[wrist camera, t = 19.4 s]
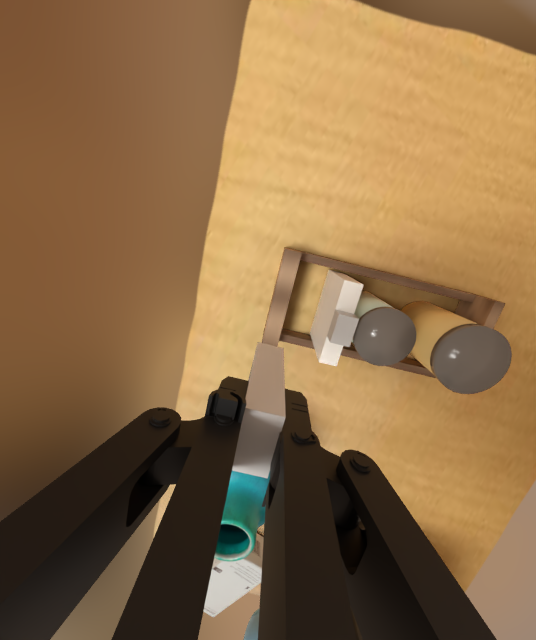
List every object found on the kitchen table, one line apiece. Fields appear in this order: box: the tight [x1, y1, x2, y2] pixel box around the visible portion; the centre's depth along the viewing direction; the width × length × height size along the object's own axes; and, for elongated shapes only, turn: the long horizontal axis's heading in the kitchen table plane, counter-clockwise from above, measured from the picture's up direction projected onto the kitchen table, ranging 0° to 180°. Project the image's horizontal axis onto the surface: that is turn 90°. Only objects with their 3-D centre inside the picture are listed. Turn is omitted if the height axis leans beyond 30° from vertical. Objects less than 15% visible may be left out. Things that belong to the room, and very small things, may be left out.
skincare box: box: [203, 533, 264, 617], centre depth 51 cm, size 8×6×15 cm
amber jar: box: [400, 301, 512, 394], centre depth 35 cm, size 7×7×12 cm
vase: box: [214, 471, 270, 562], centre depth 37 cm, size 11×11×19 cm
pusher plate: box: [310, 270, 364, 366], centre depth 34 cm, size 9×2×12 cm, turn 167°
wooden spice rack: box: [262, 247, 505, 394], centre depth 37 cm, size 12×26×6 cm, turn 77°
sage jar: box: [352, 291, 416, 366], centre depth 35 cm, size 6×6×11 cm
